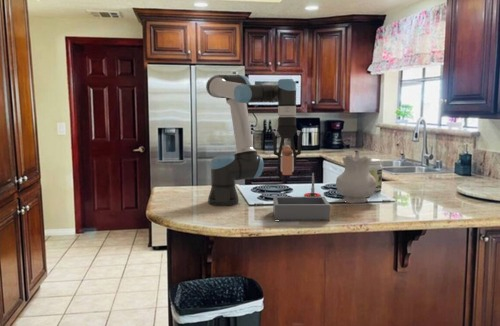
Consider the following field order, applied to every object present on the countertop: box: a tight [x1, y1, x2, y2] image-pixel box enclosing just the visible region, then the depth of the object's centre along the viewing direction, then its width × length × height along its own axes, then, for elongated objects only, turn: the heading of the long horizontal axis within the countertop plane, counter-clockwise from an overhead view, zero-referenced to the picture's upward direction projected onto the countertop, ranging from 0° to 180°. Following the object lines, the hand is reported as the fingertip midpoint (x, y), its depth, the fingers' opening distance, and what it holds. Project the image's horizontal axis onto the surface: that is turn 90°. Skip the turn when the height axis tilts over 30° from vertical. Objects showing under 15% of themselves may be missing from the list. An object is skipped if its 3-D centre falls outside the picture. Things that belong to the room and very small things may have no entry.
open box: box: [272, 196, 331, 222], centre depth 186 cm, size 23×15×7 cm, turn 89°
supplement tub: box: [368, 158, 383, 192], centre depth 237 cm, size 12×12×17 cm
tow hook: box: [304, 172, 322, 197], centre depth 223 cm, size 8×13×9 cm
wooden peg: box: [281, 145, 293, 176], centre depth 182 cm, size 4×6×12 cm, turn 177°
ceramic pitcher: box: [335, 148, 376, 204], centre depth 213 cm, size 22×20×25 cm
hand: (287, 171), depth 183 cm, fingers closed on wooden peg, 4 cm apart
